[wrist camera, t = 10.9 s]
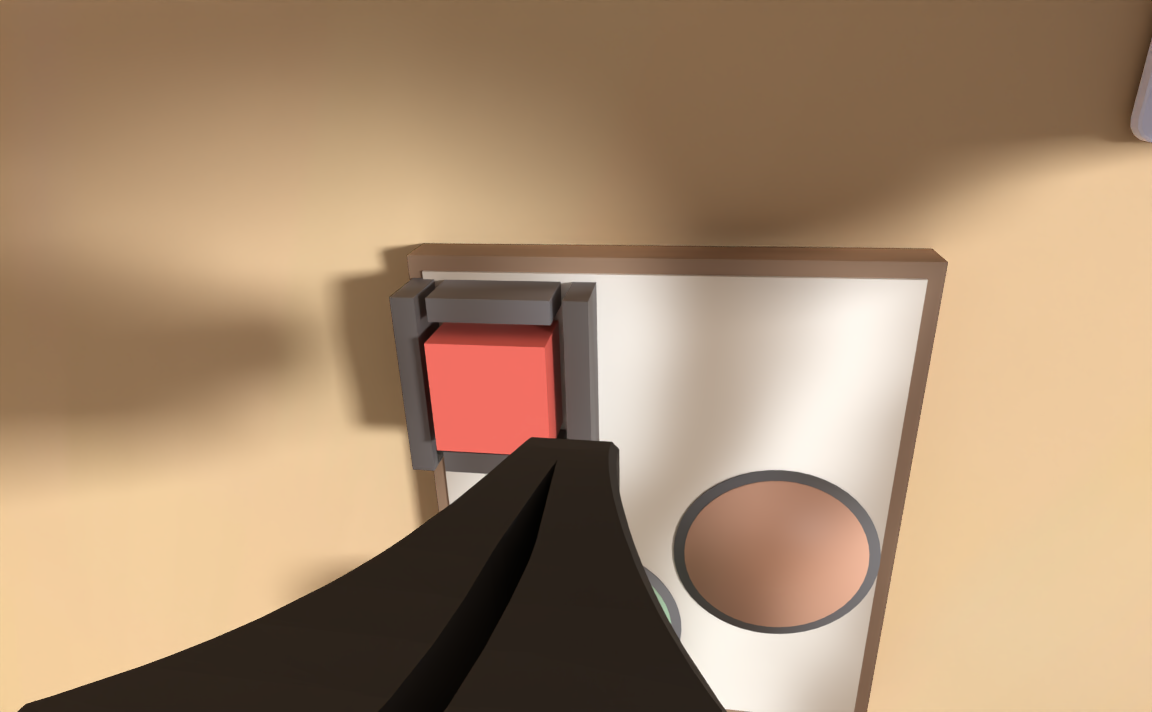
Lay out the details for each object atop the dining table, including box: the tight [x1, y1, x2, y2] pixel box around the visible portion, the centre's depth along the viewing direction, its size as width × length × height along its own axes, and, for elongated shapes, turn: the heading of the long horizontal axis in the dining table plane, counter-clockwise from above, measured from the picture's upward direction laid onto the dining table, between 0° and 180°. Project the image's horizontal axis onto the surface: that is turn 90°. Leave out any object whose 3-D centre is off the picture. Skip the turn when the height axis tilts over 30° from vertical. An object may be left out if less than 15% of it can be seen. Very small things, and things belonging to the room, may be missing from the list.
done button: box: [424, 320, 563, 454], centre depth 18 cm, size 3×3×2 cm
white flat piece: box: [389, 244, 948, 712], centre depth 20 cm, size 13×15×3 cm
